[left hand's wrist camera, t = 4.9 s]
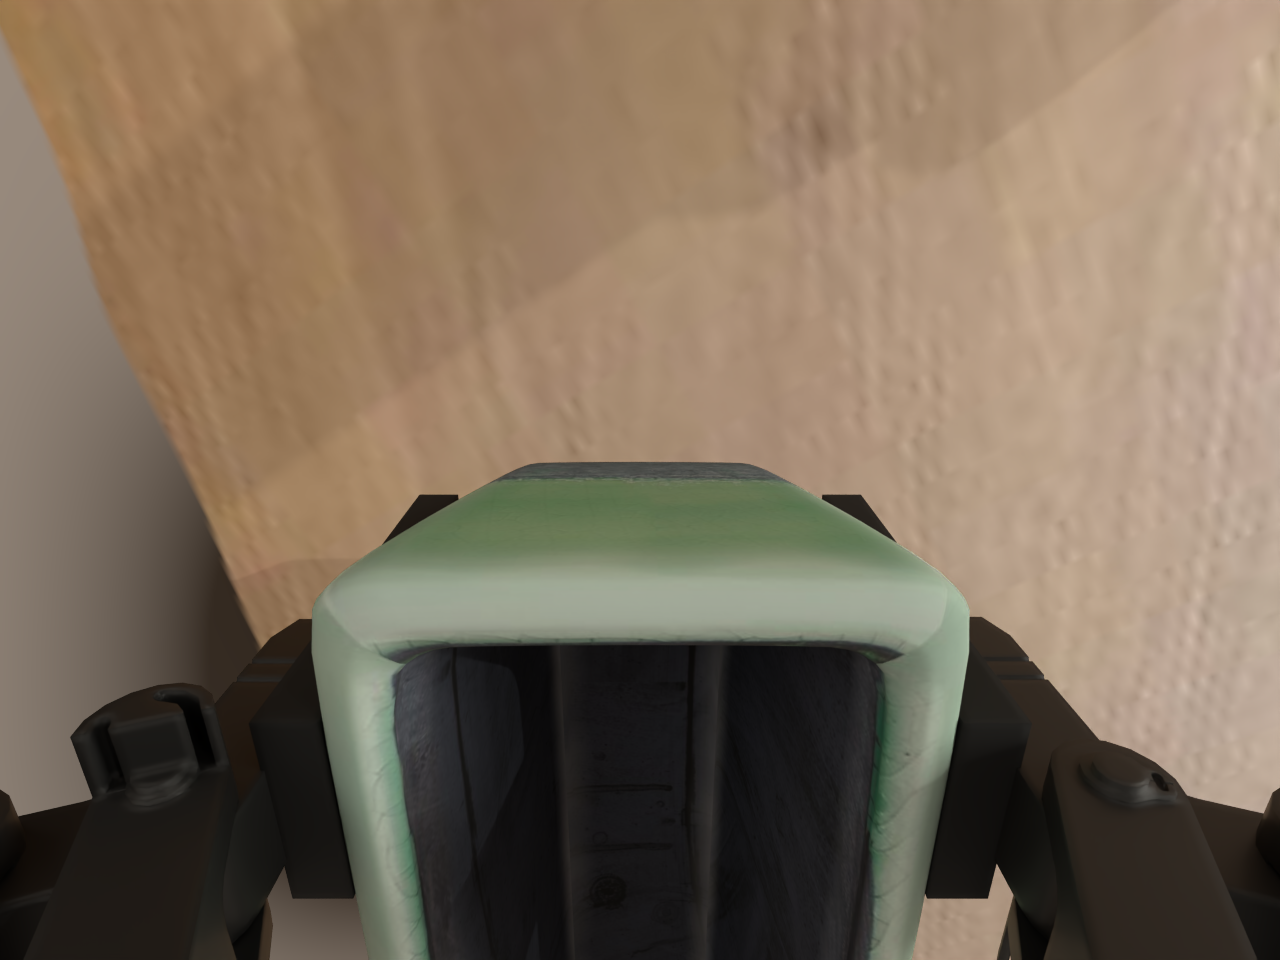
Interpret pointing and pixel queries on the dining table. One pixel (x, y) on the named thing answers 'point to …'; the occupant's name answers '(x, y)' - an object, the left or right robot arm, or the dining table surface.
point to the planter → (640, 721)
